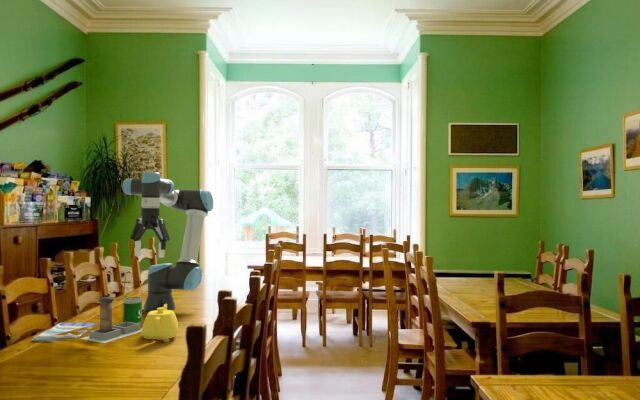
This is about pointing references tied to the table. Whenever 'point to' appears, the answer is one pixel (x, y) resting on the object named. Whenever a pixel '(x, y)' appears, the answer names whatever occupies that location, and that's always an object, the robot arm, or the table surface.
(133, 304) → the soda can
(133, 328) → the board
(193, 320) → the table surface
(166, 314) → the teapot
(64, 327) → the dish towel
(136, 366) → the table surface
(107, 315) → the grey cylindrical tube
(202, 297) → the table surface
